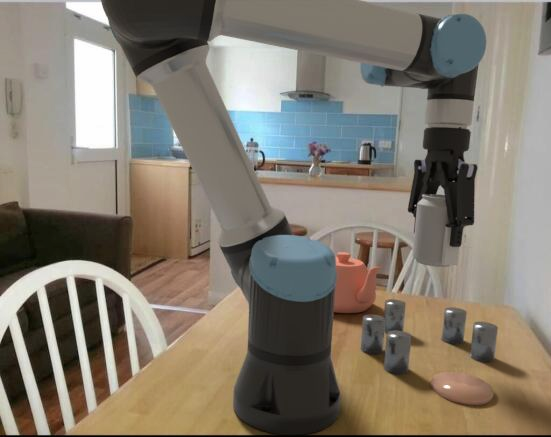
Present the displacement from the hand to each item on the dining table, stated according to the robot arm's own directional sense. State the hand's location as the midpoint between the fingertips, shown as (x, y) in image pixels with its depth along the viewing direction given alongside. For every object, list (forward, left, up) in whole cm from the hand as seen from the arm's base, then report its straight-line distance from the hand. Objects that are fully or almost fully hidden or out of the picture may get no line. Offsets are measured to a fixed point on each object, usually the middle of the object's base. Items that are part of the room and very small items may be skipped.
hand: (433, 258), depth 88 cm
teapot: (-3, +27, -18) cm, 33 cm away
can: (0, 0, -1) cm, 1 cm away
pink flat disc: (-3, -13, -18) cm, 22 cm away
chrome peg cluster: (0, +3, -18) cm, 18 cm away
